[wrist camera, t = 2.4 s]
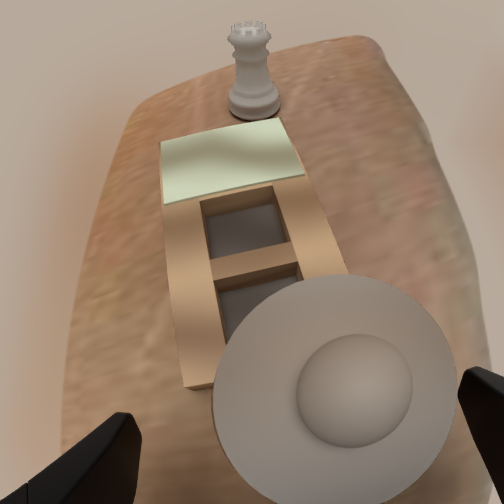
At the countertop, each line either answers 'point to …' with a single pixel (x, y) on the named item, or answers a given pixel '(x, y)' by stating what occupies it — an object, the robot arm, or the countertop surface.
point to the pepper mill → (334, 392)
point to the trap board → (235, 233)
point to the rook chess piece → (252, 74)
